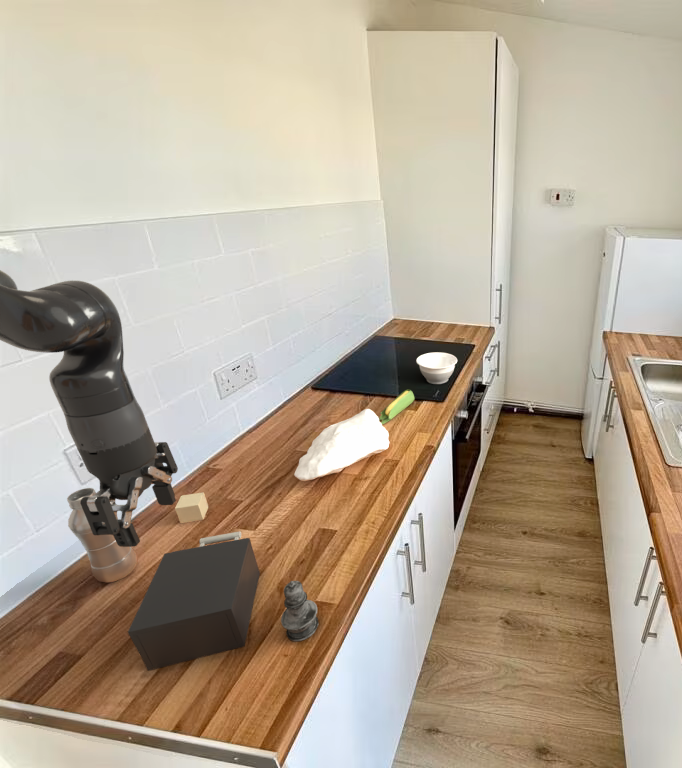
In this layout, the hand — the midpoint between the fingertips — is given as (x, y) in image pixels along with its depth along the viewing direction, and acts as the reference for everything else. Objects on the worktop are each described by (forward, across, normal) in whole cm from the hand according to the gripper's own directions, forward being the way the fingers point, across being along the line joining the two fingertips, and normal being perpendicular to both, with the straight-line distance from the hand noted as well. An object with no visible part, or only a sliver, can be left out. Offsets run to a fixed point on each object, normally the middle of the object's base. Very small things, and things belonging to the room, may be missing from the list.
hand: (150, 523), depth 65 cm
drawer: (+24, -7, 0) cm, 25 cm away
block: (+25, -29, -16) cm, 42 cm away
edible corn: (+25, -78, +24) cm, 85 cm away
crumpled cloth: (+25, -52, +14) cm, 59 cm away
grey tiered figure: (+25, 0, +18) cm, 31 cm away
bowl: (+25, -104, +36) cm, 113 cm away
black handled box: (+25, -2, +1) cm, 25 cm away
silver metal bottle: (+25, -13, -21) cm, 35 cm away
